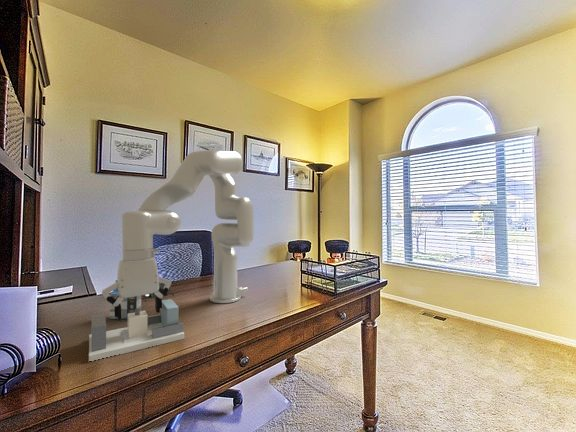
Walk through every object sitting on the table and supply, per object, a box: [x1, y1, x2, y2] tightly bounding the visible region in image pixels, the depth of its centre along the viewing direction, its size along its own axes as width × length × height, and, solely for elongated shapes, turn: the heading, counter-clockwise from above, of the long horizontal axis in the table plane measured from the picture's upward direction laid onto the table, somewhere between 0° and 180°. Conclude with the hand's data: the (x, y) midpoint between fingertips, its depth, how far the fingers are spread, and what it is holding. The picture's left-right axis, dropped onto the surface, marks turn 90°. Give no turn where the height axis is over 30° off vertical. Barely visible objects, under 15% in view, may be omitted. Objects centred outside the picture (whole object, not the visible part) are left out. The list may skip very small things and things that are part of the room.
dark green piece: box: [145, 282, 175, 298], centre depth 122 cm, size 15×15×6 cm
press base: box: [88, 323, 185, 362], centre depth 78 cm, size 22×14×2 cm, turn 125°
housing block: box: [126, 309, 148, 337], centre depth 78 cm, size 4×4×6 cm
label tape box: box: [109, 279, 142, 320], centre depth 94 cm, size 9×4×12 cm, turn 95°
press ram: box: [160, 298, 180, 326], centre depth 83 cm, size 3×9×7 cm, turn 35°
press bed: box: [91, 312, 184, 352], centre depth 78 cm, size 22×11×6 cm, turn 125°
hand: (139, 314), depth 78 cm, fingers open, 9 cm apart
